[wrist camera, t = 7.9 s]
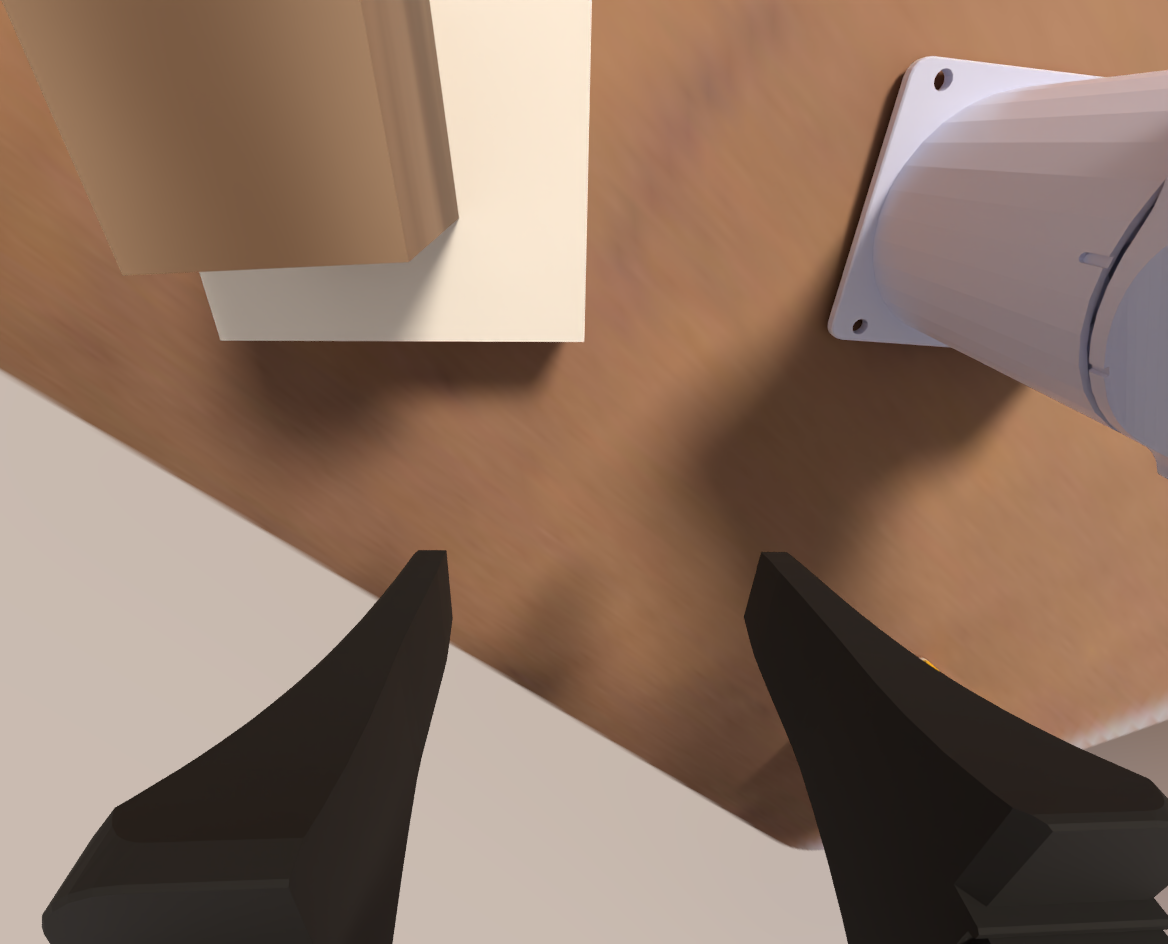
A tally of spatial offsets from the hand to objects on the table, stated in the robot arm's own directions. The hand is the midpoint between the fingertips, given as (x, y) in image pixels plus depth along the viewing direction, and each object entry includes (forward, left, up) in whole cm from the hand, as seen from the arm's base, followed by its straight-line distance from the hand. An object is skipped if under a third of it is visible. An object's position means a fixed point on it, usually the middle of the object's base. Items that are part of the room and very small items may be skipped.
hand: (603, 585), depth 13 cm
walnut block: (+6, -9, -6) cm, 12 cm away
